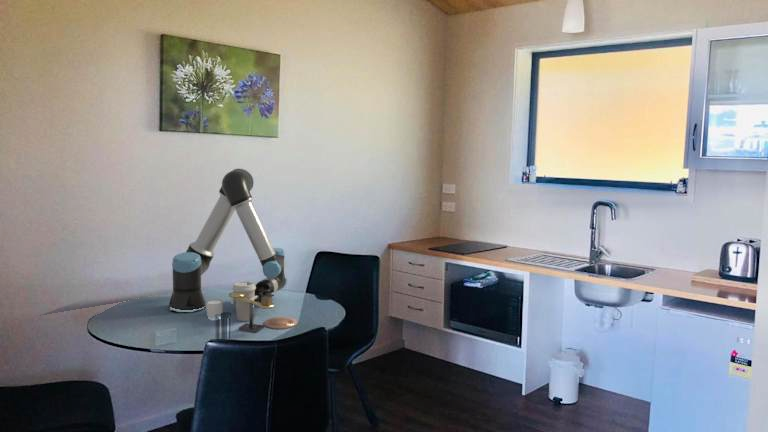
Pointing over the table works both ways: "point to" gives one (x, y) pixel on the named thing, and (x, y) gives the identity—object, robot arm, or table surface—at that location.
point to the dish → (280, 323)
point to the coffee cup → (249, 293)
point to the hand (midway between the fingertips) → (241, 301)
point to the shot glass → (214, 308)
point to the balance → (265, 304)
